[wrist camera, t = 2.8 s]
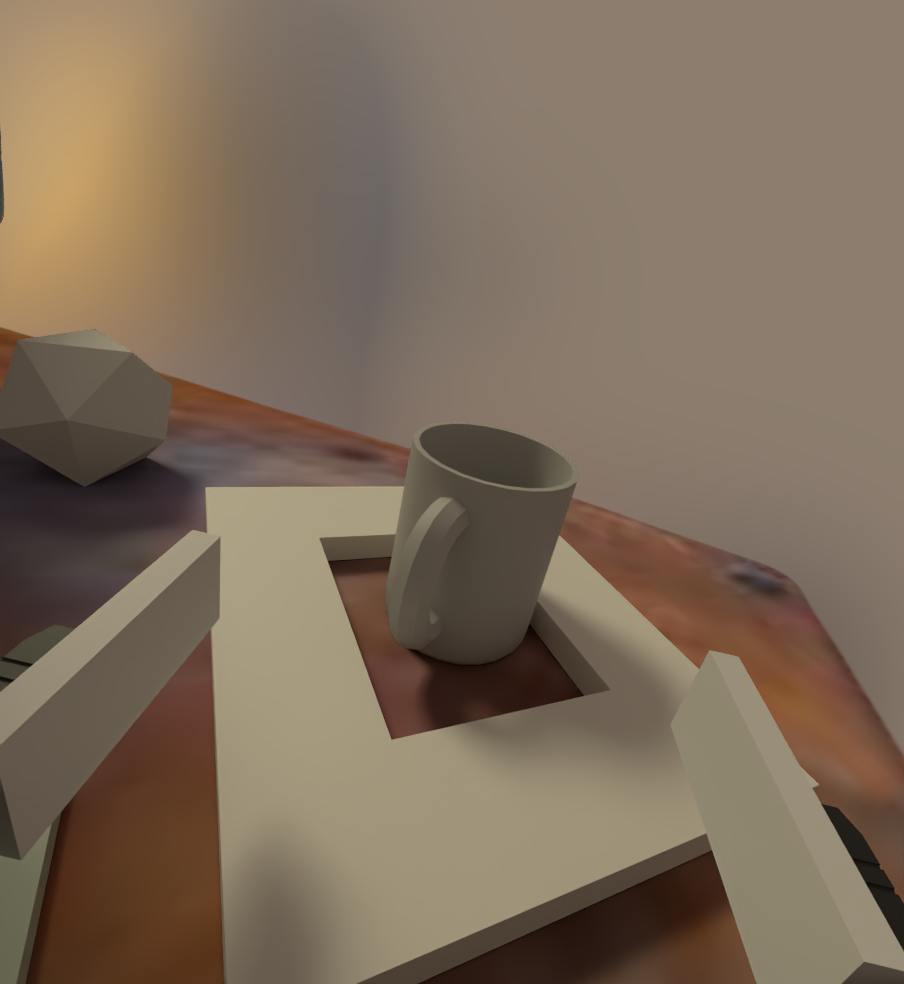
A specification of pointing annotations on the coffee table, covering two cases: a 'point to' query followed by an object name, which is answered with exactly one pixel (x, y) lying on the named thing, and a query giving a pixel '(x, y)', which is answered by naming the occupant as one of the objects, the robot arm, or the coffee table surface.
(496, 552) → the cup
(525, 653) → the coffee table surface
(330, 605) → the beige flat frame
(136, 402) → the die
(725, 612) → the coffee table surface
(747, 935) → the robot arm
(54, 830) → the coaster
